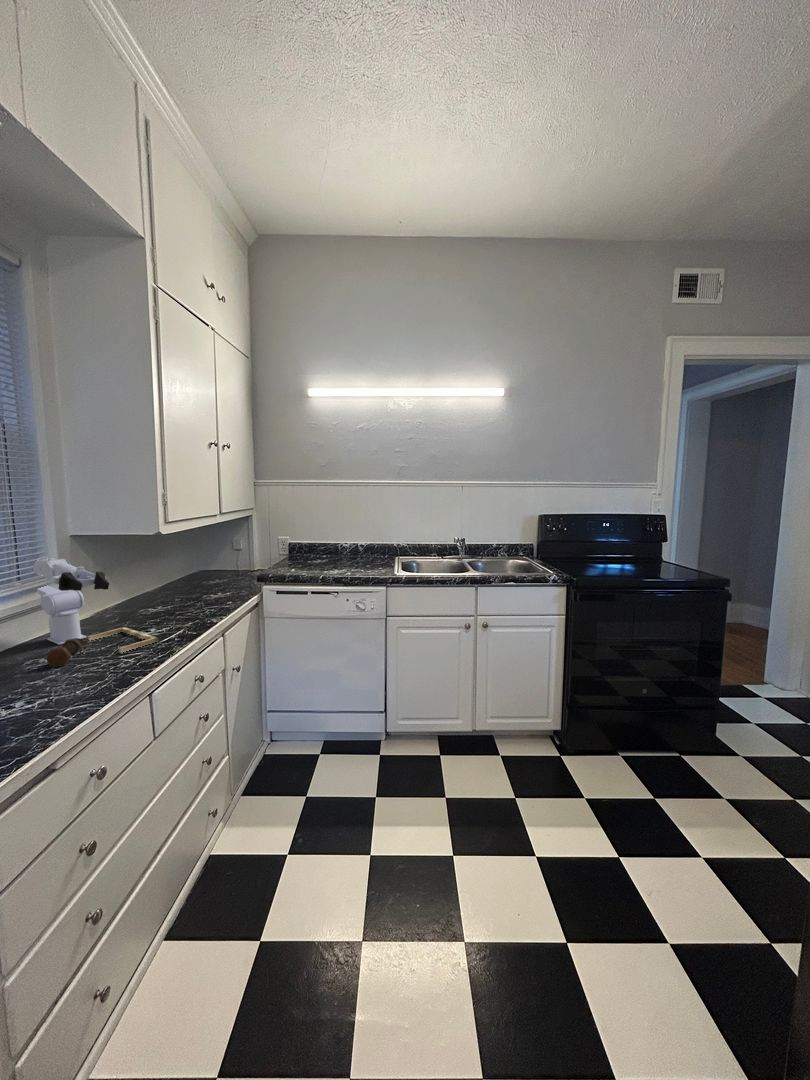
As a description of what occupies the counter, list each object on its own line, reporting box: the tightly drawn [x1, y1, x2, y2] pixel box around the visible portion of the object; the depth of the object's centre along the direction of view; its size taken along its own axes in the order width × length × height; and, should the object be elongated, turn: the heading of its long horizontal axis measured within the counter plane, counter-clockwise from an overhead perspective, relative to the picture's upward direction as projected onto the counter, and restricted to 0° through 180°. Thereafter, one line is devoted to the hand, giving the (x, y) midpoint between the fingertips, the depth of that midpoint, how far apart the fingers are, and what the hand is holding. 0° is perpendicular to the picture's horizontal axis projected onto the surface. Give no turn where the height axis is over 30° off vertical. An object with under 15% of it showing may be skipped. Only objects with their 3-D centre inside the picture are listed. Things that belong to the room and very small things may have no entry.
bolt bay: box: [87, 626, 159, 654], centre depth 151 cm, size 21×11×2 cm, turn 56°
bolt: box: [45, 638, 84, 667], centre depth 139 cm, size 6×5×15 cm
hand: (94, 586), depth 142 cm, fingers open, 7 cm apart
